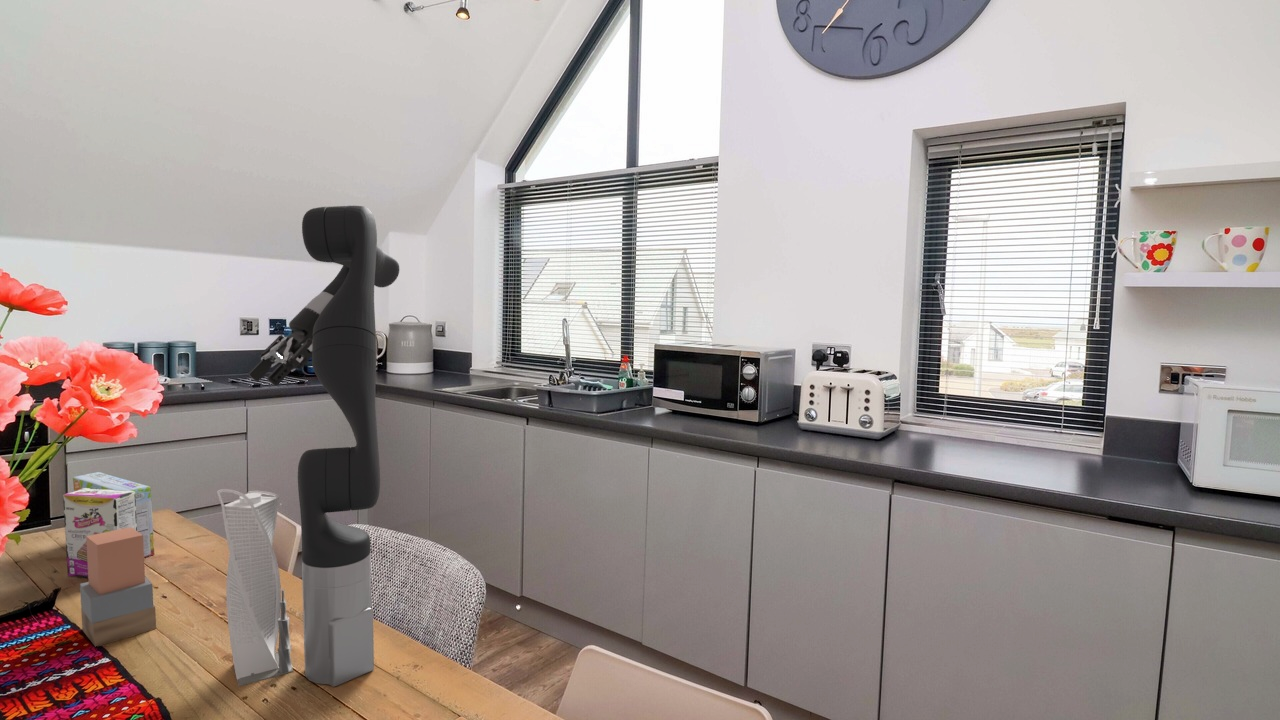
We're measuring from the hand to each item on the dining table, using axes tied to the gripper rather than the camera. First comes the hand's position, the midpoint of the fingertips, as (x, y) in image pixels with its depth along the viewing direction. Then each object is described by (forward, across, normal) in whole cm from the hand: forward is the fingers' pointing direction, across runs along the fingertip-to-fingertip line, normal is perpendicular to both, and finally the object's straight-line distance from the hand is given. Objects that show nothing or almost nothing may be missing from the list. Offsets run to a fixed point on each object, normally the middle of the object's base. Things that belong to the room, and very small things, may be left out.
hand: (261, 380), depth 130 cm
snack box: (+39, -38, +16) cm, 57 cm away
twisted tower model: (+38, +33, +17) cm, 53 cm away
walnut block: (+45, +4, +10) cm, 46 cm away
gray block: (+42, +4, +7) cm, 43 cm away
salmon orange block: (+39, +4, +4) cm, 40 cm away
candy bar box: (+42, -24, +13) cm, 50 cm away
